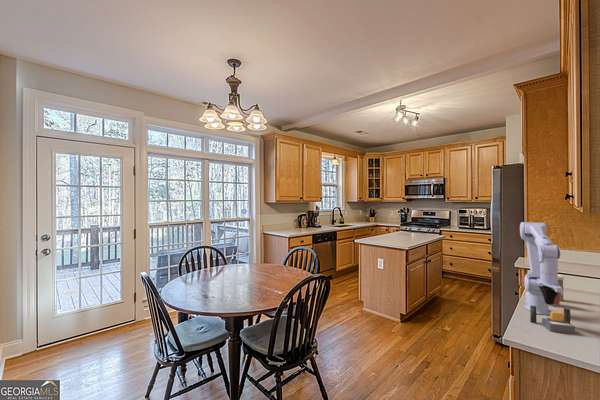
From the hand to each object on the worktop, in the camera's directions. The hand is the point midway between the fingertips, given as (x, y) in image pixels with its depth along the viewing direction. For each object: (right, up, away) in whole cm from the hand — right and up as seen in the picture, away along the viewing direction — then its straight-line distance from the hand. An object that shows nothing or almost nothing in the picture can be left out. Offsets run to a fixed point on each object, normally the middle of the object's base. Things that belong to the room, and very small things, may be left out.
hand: (549, 304), depth 119 cm
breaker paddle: (-1, -5, -5) cm, 7 cm away
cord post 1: (-6, -8, +1) cm, 10 cm away
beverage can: (+22, -9, +23) cm, 34 cm away
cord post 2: (+6, -8, -2) cm, 10 cm away
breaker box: (-2, -8, -6) cm, 10 cm away
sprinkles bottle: (+33, -10, +31) cm, 46 cm away
